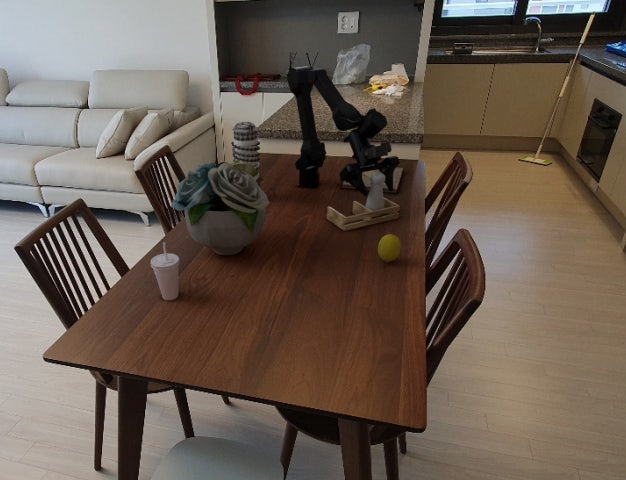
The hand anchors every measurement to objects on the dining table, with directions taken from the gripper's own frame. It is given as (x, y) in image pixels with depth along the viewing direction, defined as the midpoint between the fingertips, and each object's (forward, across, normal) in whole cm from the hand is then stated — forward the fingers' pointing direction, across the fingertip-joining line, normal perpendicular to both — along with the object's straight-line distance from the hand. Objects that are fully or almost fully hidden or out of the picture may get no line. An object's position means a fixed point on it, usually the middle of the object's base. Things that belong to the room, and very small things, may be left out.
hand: (379, 193), depth 138 cm
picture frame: (-14, +19, +25) cm, 34 cm away
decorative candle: (-17, -30, +28) cm, 44 cm away
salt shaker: (+4, 0, +6) cm, 8 cm away
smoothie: (+16, -70, -5) cm, 72 cm away
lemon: (+23, -15, -12) cm, 30 cm away
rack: (+4, -5, +6) cm, 9 cm away
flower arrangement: (+4, -49, +6) cm, 50 cm away
